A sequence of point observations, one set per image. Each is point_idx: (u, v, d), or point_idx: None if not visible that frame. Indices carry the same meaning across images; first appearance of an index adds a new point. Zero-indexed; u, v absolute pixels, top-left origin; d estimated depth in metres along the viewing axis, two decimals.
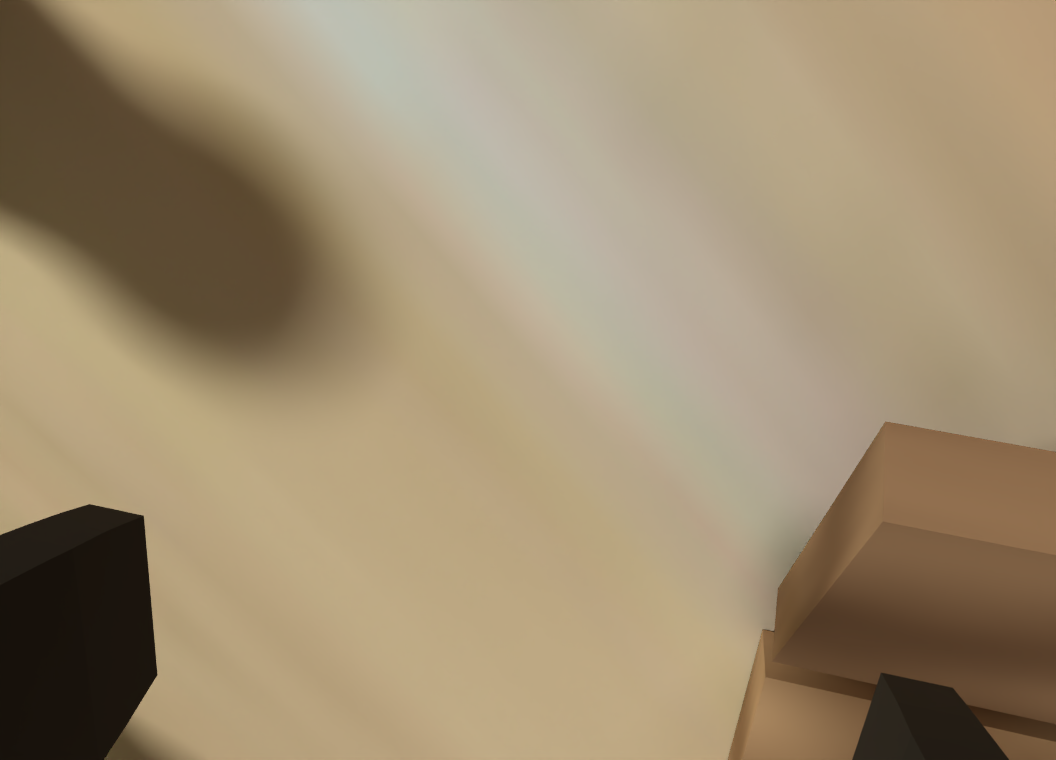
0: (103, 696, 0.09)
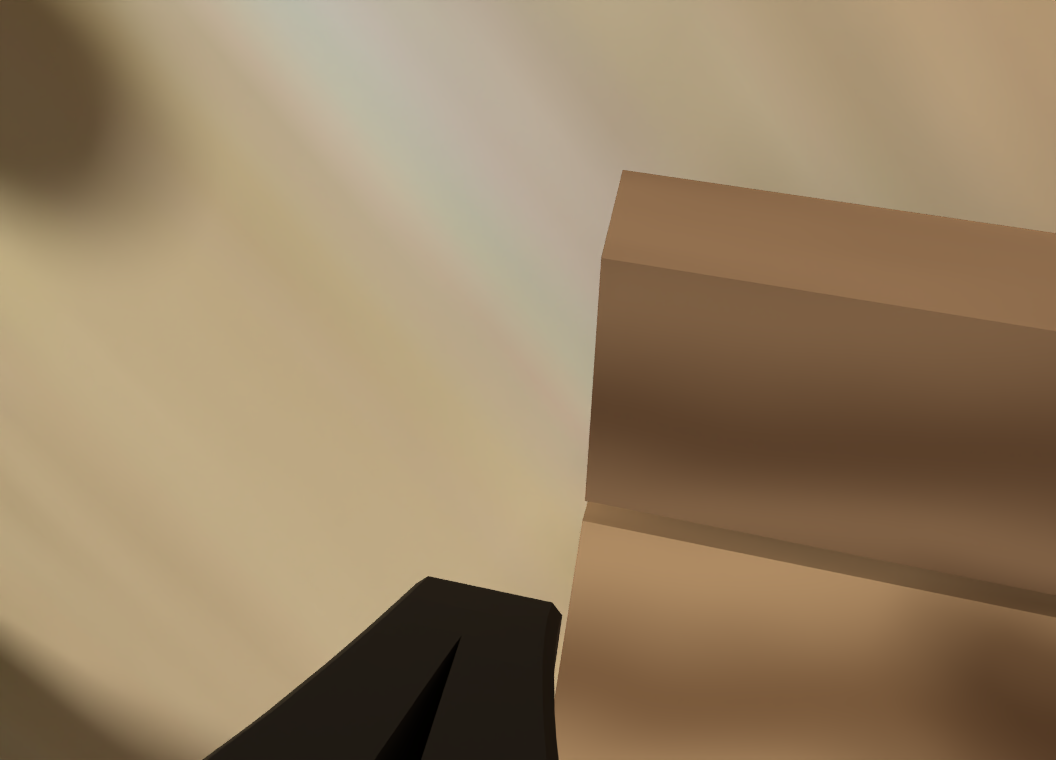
0: None
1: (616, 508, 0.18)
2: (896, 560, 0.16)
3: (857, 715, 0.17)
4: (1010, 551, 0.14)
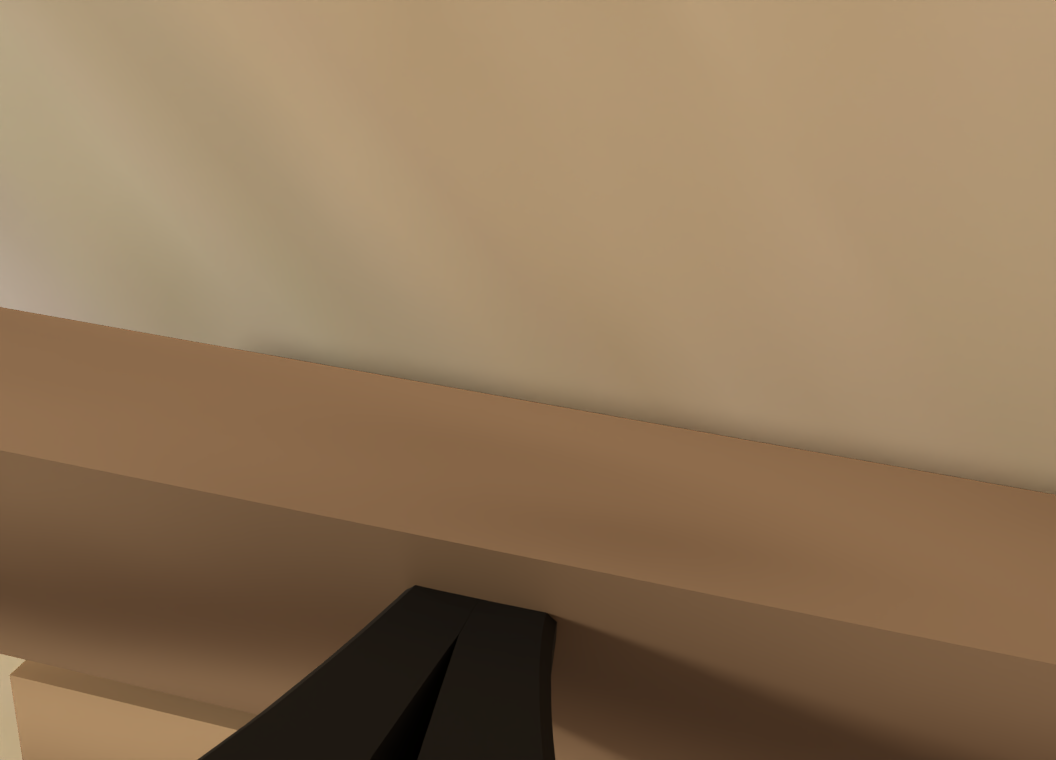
0: None
1: None
2: None
3: None
4: None
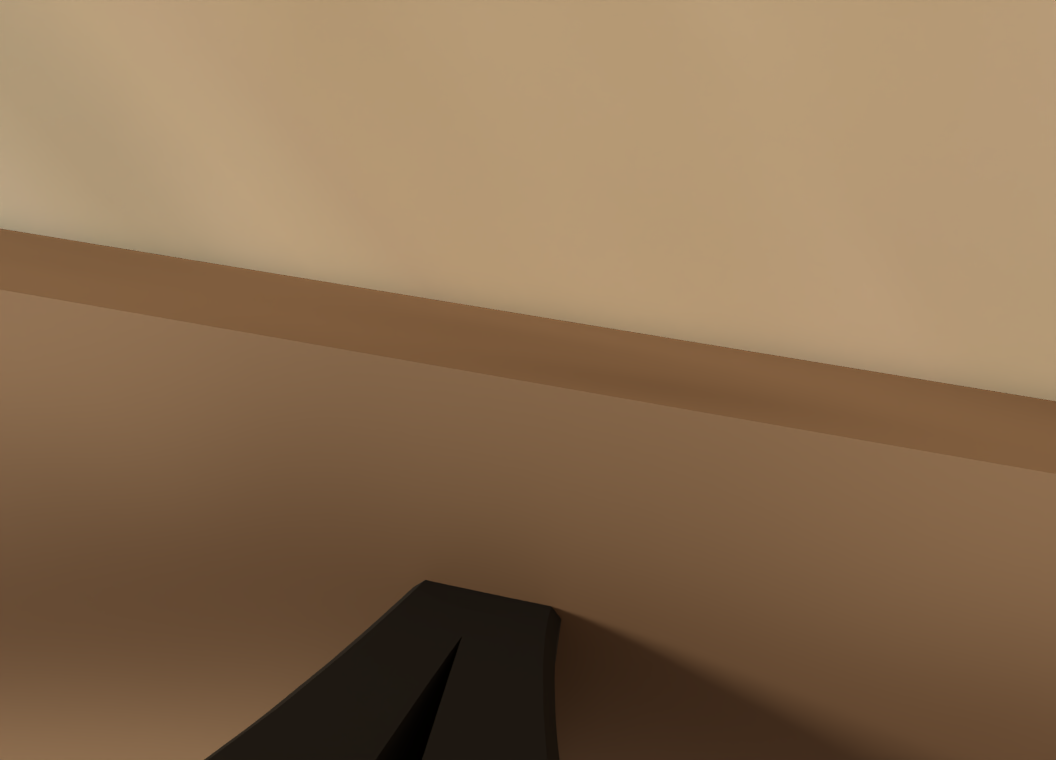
0: None
1: None
2: None
3: None
4: None
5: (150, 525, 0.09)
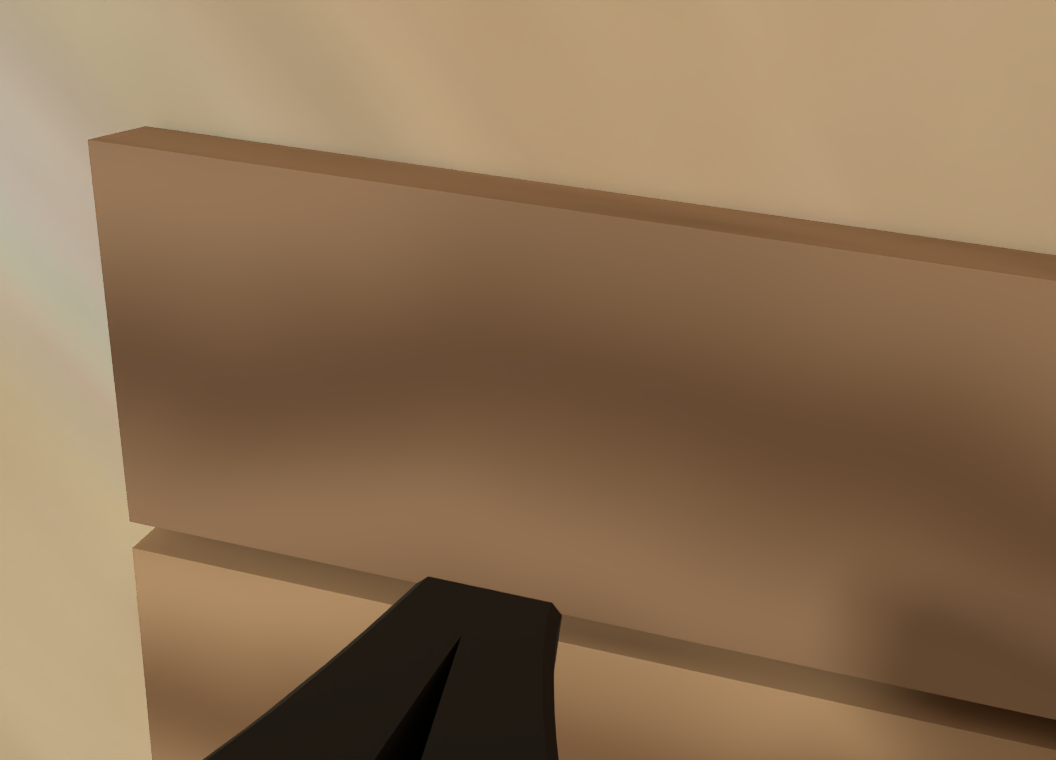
0: None
1: (180, 534, 0.17)
2: (416, 576, 0.16)
3: None
4: (500, 535, 0.15)
5: (375, 322, 0.14)
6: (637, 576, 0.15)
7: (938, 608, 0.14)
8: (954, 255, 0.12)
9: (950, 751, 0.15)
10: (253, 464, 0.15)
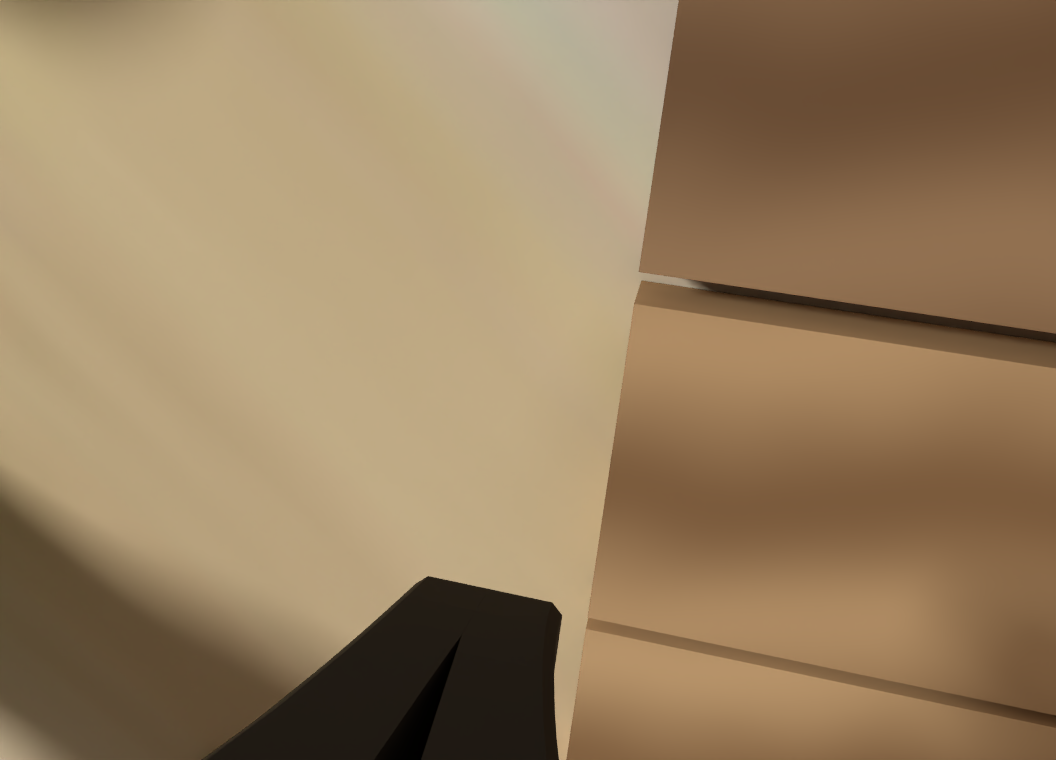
0: None
1: (668, 297, 0.16)
2: (975, 313, 0.15)
3: (930, 513, 0.16)
4: None
5: (1006, 5, 0.13)
6: None
7: None
8: None
9: None
10: (809, 191, 0.15)
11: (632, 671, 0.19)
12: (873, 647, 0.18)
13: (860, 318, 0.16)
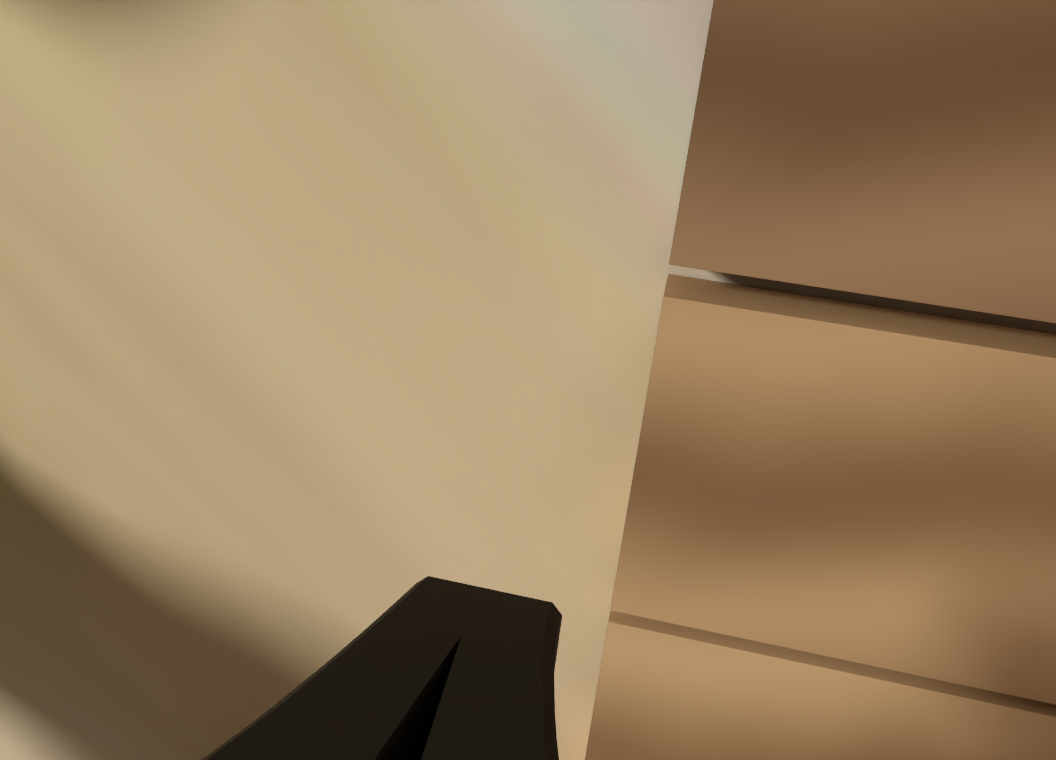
0: None
1: (696, 290, 0.17)
2: (1003, 307, 0.15)
3: (955, 506, 0.16)
4: None
5: (1040, 0, 0.13)
6: None
7: None
8: None
9: None
10: (840, 184, 0.15)
11: (654, 664, 0.19)
12: (896, 640, 0.18)
13: (887, 312, 0.16)
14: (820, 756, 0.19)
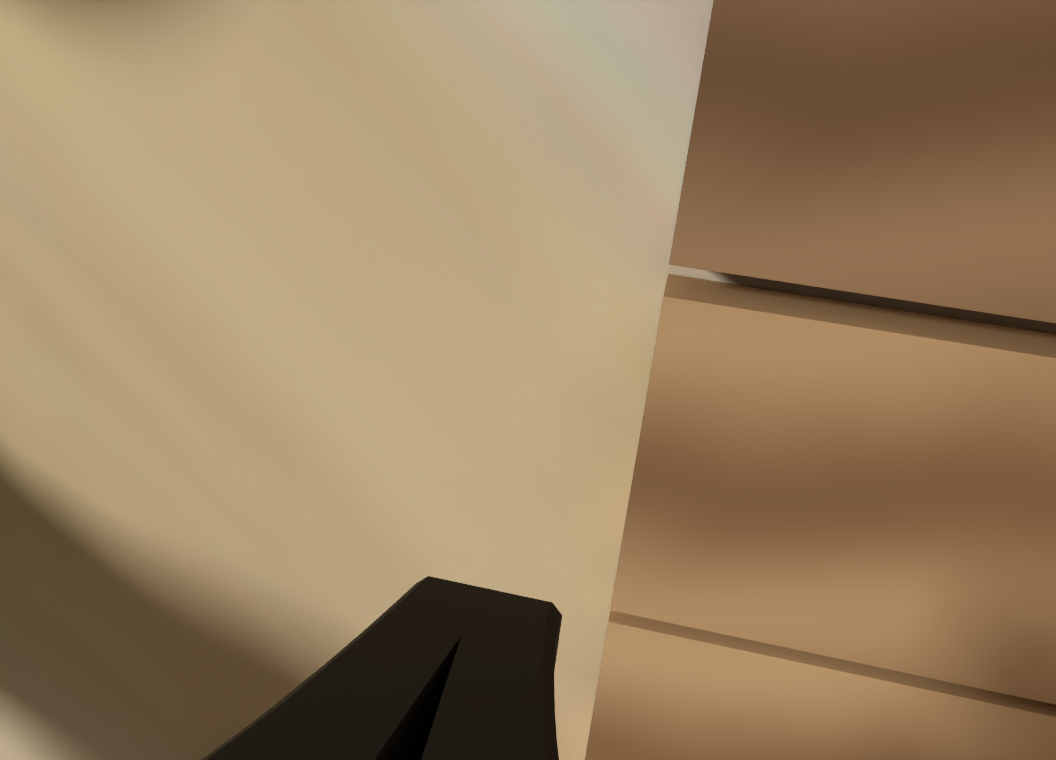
0: None
1: (696, 290, 0.17)
2: (1003, 307, 0.15)
3: (955, 506, 0.16)
4: None
5: (1040, 0, 0.13)
6: None
7: None
8: None
9: None
10: (840, 184, 0.15)
11: (654, 664, 0.19)
12: (896, 640, 0.18)
13: (887, 312, 0.16)
14: (820, 756, 0.19)
